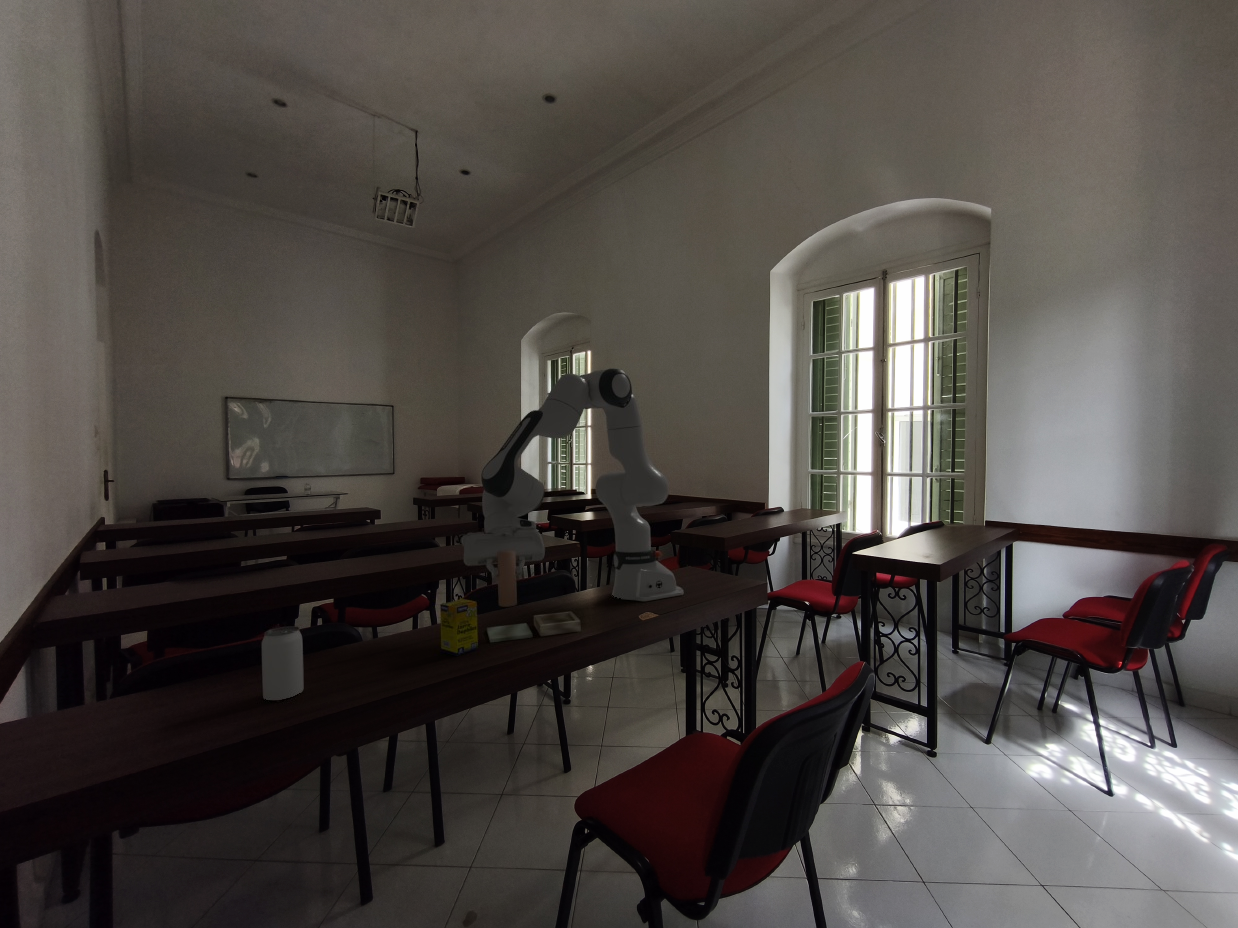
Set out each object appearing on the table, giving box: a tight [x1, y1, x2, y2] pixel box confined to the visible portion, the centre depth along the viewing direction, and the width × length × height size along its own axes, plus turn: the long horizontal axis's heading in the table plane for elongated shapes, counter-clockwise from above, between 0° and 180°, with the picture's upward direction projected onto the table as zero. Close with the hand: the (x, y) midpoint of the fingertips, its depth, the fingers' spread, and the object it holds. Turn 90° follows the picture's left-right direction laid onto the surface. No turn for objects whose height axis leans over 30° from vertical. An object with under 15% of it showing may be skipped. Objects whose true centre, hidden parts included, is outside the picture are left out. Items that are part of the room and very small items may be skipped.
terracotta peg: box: [497, 550, 518, 608], centre depth 136 cm, size 4×4×13 cm
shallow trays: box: [486, 611, 582, 643], centre depth 138 cm, size 22×10×2 cm, turn 108°
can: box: [261, 625, 304, 701], centre depth 102 cm, size 6×6×12 cm
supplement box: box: [439, 598, 479, 657], centre depth 125 cm, size 6×6×11 cm
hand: (507, 574), depth 135 cm, fingers closed on terracotta peg, 4 cm apart
